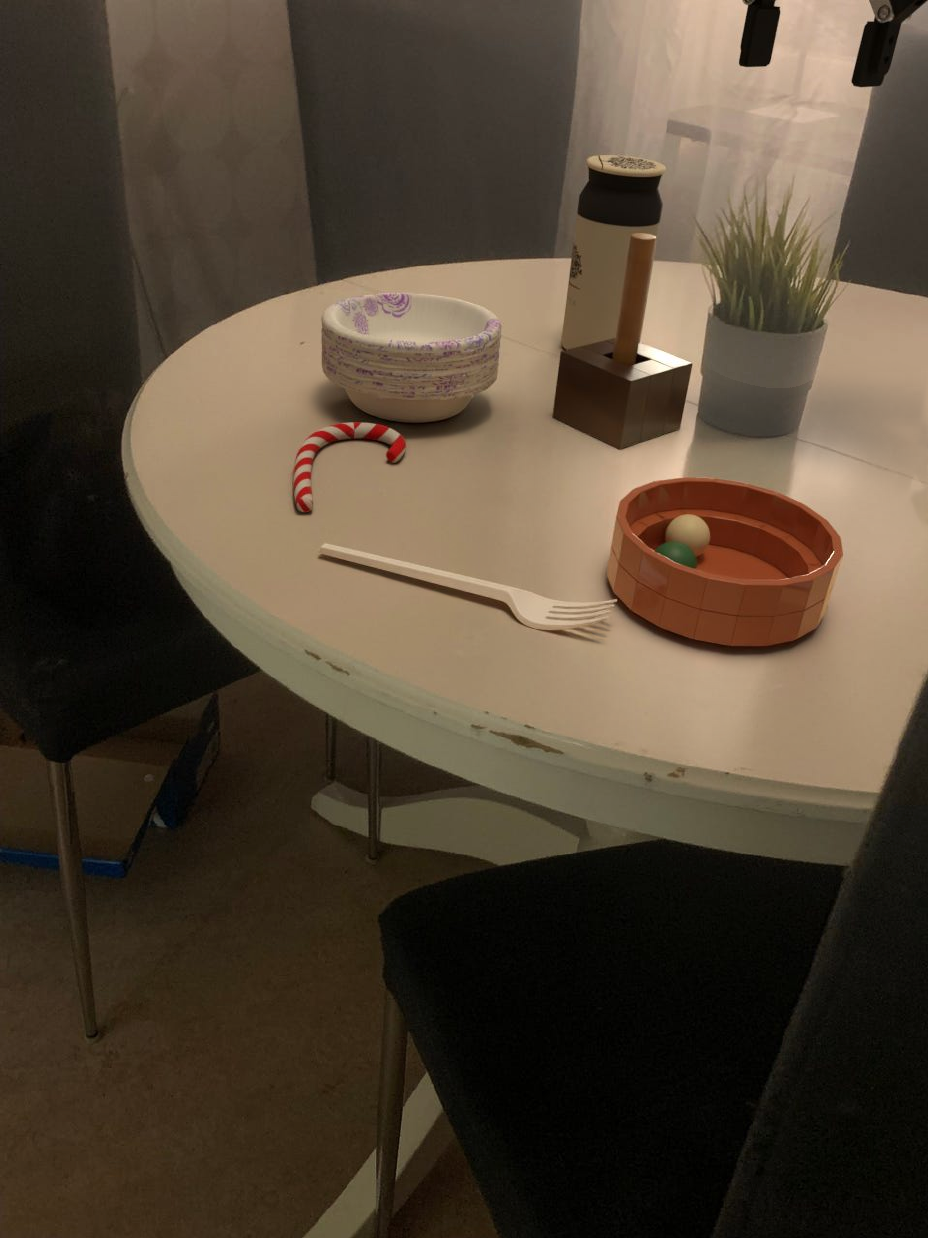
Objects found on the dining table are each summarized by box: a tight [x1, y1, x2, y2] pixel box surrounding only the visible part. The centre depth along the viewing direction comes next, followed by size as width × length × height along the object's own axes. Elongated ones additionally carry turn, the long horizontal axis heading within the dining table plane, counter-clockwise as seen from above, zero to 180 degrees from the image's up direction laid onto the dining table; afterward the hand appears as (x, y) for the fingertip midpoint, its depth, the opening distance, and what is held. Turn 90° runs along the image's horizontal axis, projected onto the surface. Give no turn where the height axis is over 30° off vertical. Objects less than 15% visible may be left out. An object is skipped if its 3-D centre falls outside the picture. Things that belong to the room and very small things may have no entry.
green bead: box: [655, 541, 697, 569], centre depth 70 cm, size 3×3×3 cm
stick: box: [612, 233, 656, 366], centre depth 90 cm, size 2×2×16 cm
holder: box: [552, 338, 694, 450], centre depth 93 cm, size 8×8×6 cm
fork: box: [317, 542, 618, 631], centre depth 69 cm, size 3×20×2 cm, turn 68°
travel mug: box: [560, 154, 667, 350], centre depth 106 cm, size 8×8×18 cm
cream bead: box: [665, 514, 710, 557], centre depth 74 cm, size 3×3×3 cm
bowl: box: [606, 476, 844, 647], centre depth 70 cm, size 14×14×5 cm
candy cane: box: [292, 421, 407, 513], centre depth 82 cm, size 8×1×15 cm
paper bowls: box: [320, 292, 502, 424], centre depth 93 cm, size 15×15×8 cm
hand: (808, 75), depth 79 cm, fingers open, 9 cm apart
